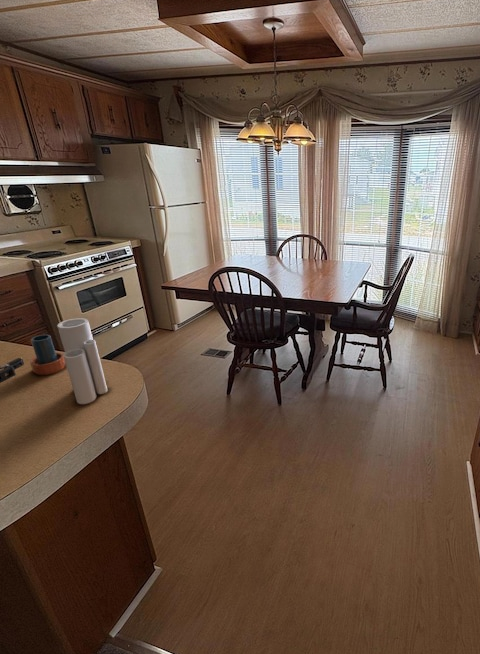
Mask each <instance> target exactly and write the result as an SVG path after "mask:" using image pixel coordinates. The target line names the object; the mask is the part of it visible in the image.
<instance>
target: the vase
mask: <svg viewBox="0 0 480 654" xmlns="http://www.w3.org/2000/svg"><path fill="white" fill-rule="evenodd" d="M56 327H57V329H58V334H59V336H60V340H61V343H62V347H63V350H64V353H63V356H64V360H65V363H66V364H65V366H66V370H67V373H68V377H69V379H70V380H69V381H70V384H71V386H72V390H73V393H74V397H75V400H76V402H77V404H79V405H86V404H90V403H92V402H94V401H95V400H96V399H97V395H103V394H106V393H107V392H108V387H107V381H106V379H105V373H104V370H103V366H102V363H101V362H102V361H101V358H100V355H99V351H98V350H99V349H98V346H97V342H96V340H95V339H94V338H93V334H92V331H91V326H90V322H89V319H87V318H83V317H79V318H78V317H77V318H70V319H66V320H63V321H60V322H59V323H58V324H57V326H56Z"/></svg>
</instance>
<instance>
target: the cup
mask: <svg viewBox="0 0 480 654" xmlns="http://www.w3.org/2000/svg"><path fill="white" fill-rule="evenodd" d="M30 343H31V345H32V348H33V351H34V354H35V357H36V358H37V361H38V364H39V365H41V364H48V363H51V362H54V361H56V360H58V359H57V355H56V353H57V352H56V348H55V346H54V345H55V344H54V342H53V339H52V335H50V334H39V335H36V336H33V337H32V338H30Z"/></svg>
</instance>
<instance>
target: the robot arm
mask: <svg viewBox="0 0 480 654" xmlns="http://www.w3.org/2000/svg"><path fill="white" fill-rule="evenodd" d="M24 365H25V362H24V359H23V358H22V357H16V358H15V359H13V360H11V361H9V362H6V363H5V364H2V365H0V384H1V383H3V382H5V381H7V380H9V379H11V378H13V377H15V376H16V371H15V370H18V368H20V367H23V366H24Z"/></svg>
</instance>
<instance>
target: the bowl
mask: <svg viewBox="0 0 480 654" xmlns="http://www.w3.org/2000/svg"><path fill="white" fill-rule="evenodd" d="M56 355H57V359H58V360H56V361H54V362H51V363H48V364H41V365H39V364H38V361H37V358H36V356H35V357H34V358H32V359H31V360H30V361H29V363H30V367H31V369H32V373H35V374H36V375H38V376H45V375H51V374H55V373H57V372H59V371H62V370H63V369H64V368H65V366H66V363H65V360H64V356H63V355H64V353H61V352H56Z"/></svg>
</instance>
